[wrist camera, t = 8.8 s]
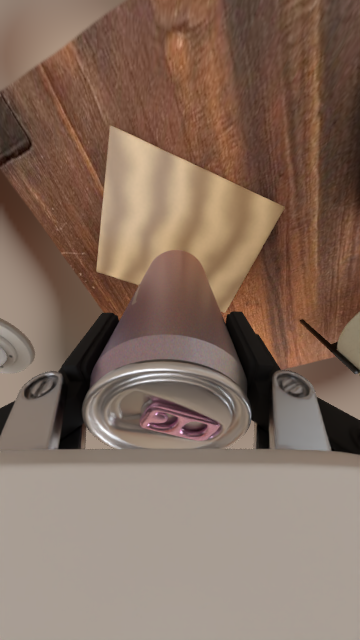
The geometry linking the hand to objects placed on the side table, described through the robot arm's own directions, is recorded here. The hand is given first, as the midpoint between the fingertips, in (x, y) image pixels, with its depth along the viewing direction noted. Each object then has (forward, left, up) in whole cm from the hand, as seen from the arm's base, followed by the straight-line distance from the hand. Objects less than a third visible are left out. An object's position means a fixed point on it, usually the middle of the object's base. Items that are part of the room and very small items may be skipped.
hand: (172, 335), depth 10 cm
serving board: (0, +2, -23) cm, 23 cm away
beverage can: (0, 0, -10) cm, 10 cm away
